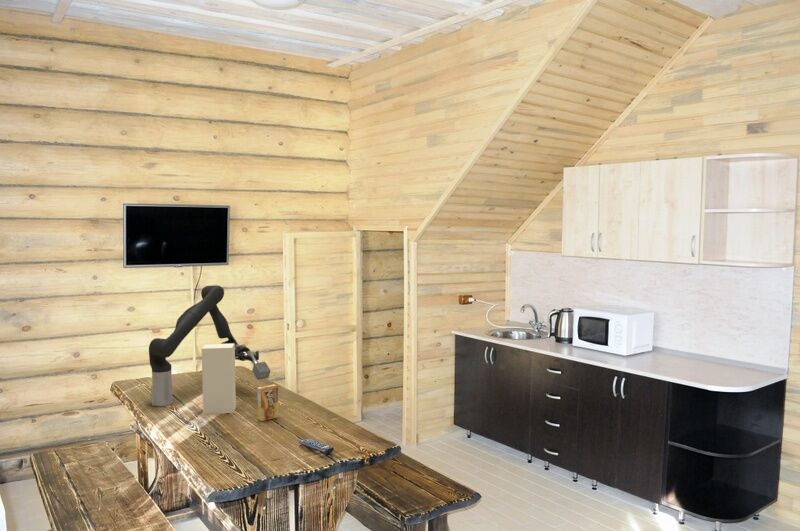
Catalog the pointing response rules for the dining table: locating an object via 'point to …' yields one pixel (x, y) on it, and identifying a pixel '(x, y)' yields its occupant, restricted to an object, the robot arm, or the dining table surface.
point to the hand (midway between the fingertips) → (254, 358)
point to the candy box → (267, 402)
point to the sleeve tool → (259, 367)
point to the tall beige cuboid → (218, 378)
